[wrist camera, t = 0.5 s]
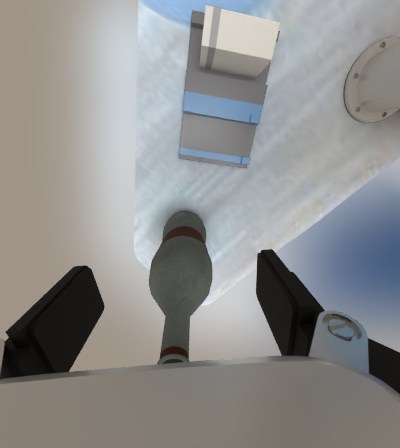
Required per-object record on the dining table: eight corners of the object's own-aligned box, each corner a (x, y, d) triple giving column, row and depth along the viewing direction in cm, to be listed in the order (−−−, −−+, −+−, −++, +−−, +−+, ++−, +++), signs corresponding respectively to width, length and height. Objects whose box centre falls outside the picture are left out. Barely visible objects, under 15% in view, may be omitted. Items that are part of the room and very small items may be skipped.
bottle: (196, 250, 45) (205, 409, 17) (160, 238, 44) (104, 393, 16) (210, 215, 42) (249, 341, 14) (172, 202, 40) (129, 313, 13)
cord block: (261, 49, 31) (280, 22, 24) (255, 78, 32) (271, 60, 26) (202, 37, 30) (205, 4, 23) (199, 67, 31) (201, 45, 25)
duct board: (275, 32, 31) (283, 22, 28) (245, 168, 38) (249, 169, 36) (192, 14, 29) (192, 1, 27) (178, 158, 37) (178, 158, 35)
